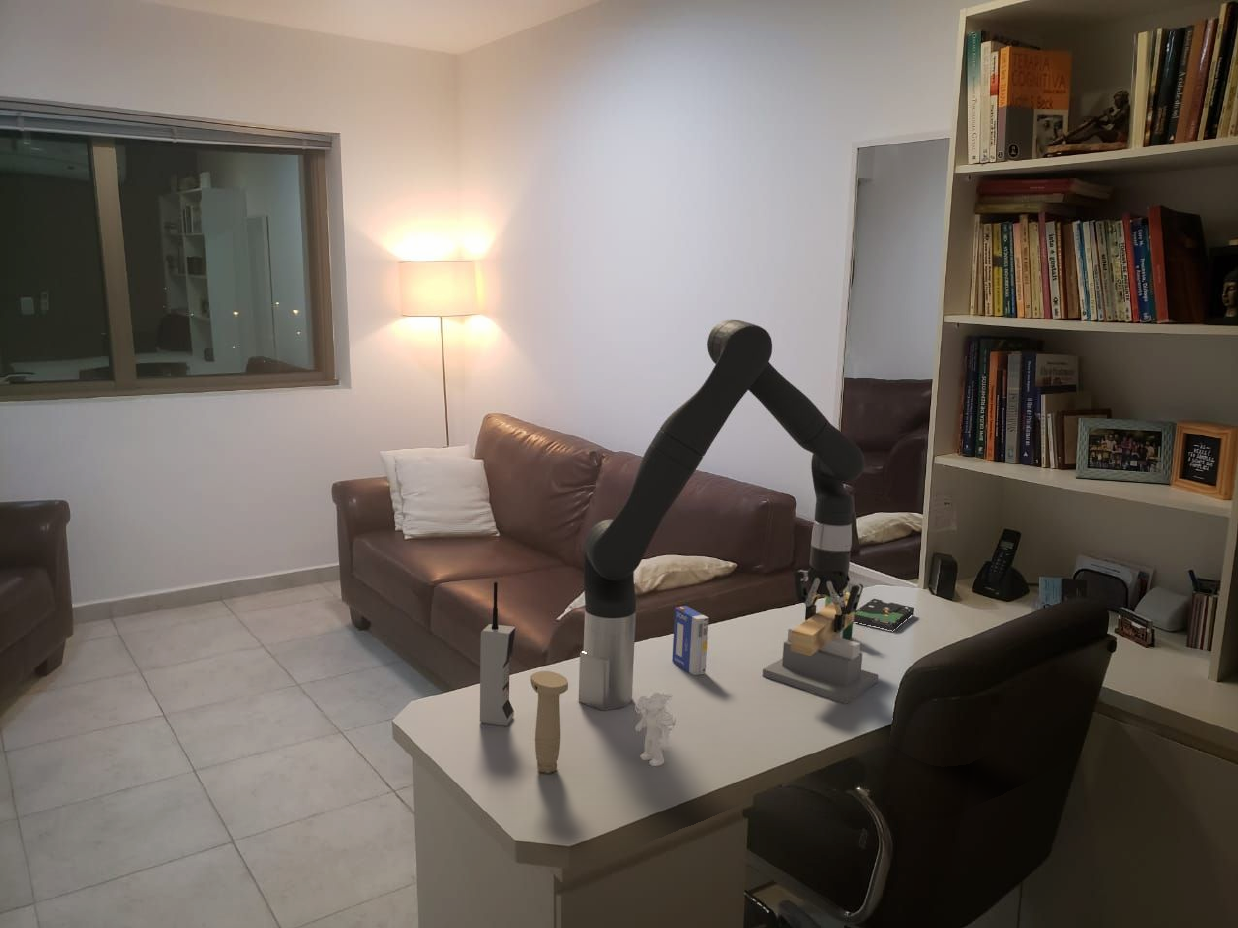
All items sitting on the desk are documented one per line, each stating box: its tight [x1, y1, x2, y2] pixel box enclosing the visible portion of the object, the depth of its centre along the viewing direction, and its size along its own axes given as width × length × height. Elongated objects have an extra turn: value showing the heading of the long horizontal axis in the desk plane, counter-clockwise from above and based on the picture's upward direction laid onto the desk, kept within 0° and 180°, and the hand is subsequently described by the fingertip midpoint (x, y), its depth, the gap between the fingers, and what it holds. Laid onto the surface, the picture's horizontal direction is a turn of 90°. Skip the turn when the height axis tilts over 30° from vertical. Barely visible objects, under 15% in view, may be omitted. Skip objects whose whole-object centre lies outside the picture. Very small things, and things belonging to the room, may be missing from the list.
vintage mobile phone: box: [479, 581, 516, 727], centre depth 158 cm, size 4×5×25 cm
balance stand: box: [762, 624, 879, 704], centre depth 183 cm, size 14×18×9 cm
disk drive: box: [854, 598, 915, 631], centre depth 220 cm, size 10×3×15 cm
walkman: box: [672, 605, 709, 676], centre depth 185 cm, size 8×3×12 cm, turn 31°
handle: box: [529, 670, 569, 774], centre depth 143 cm, size 5×6×15 cm
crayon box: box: [824, 589, 854, 641], centre depth 207 cm, size 7×3×12 cm, turn 22°
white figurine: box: [634, 692, 677, 767], centre depth 148 cm, size 9×4×12 cm, turn 33°
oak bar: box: [790, 601, 855, 656], centre depth 182 cm, size 24×4×4 cm, turn 147°
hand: (824, 627), depth 182 cm, fingers open, 5 cm apart
